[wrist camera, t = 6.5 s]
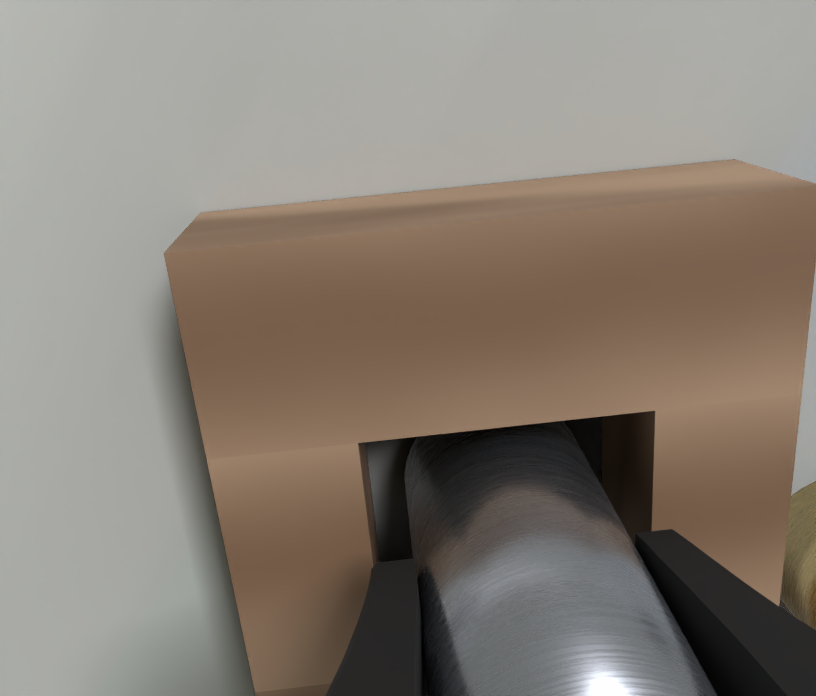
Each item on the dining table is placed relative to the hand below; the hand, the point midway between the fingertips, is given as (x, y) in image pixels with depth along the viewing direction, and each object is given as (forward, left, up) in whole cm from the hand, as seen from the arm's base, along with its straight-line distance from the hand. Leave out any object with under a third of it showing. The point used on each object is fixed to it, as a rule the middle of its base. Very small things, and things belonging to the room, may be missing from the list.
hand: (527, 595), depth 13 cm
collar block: (0, 0, -4) cm, 4 cm away
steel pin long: (0, 0, -3) cm, 3 cm away
